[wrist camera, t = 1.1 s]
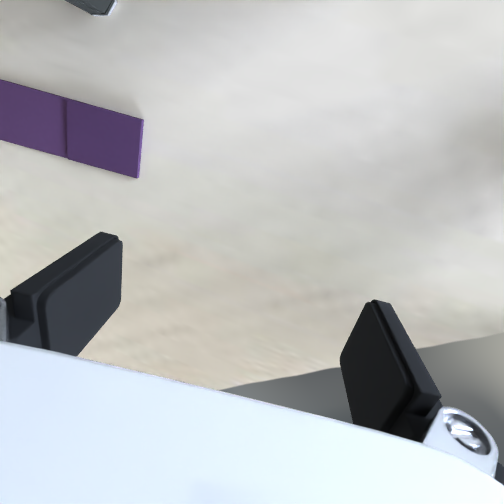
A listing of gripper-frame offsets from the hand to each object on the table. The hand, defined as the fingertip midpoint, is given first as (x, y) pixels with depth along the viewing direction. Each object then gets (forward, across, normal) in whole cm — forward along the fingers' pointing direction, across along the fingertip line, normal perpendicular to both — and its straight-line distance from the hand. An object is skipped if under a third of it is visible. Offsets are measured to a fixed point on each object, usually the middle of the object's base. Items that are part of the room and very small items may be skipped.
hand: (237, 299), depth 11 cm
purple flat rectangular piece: (+28, +25, +1) cm, 37 cm away
